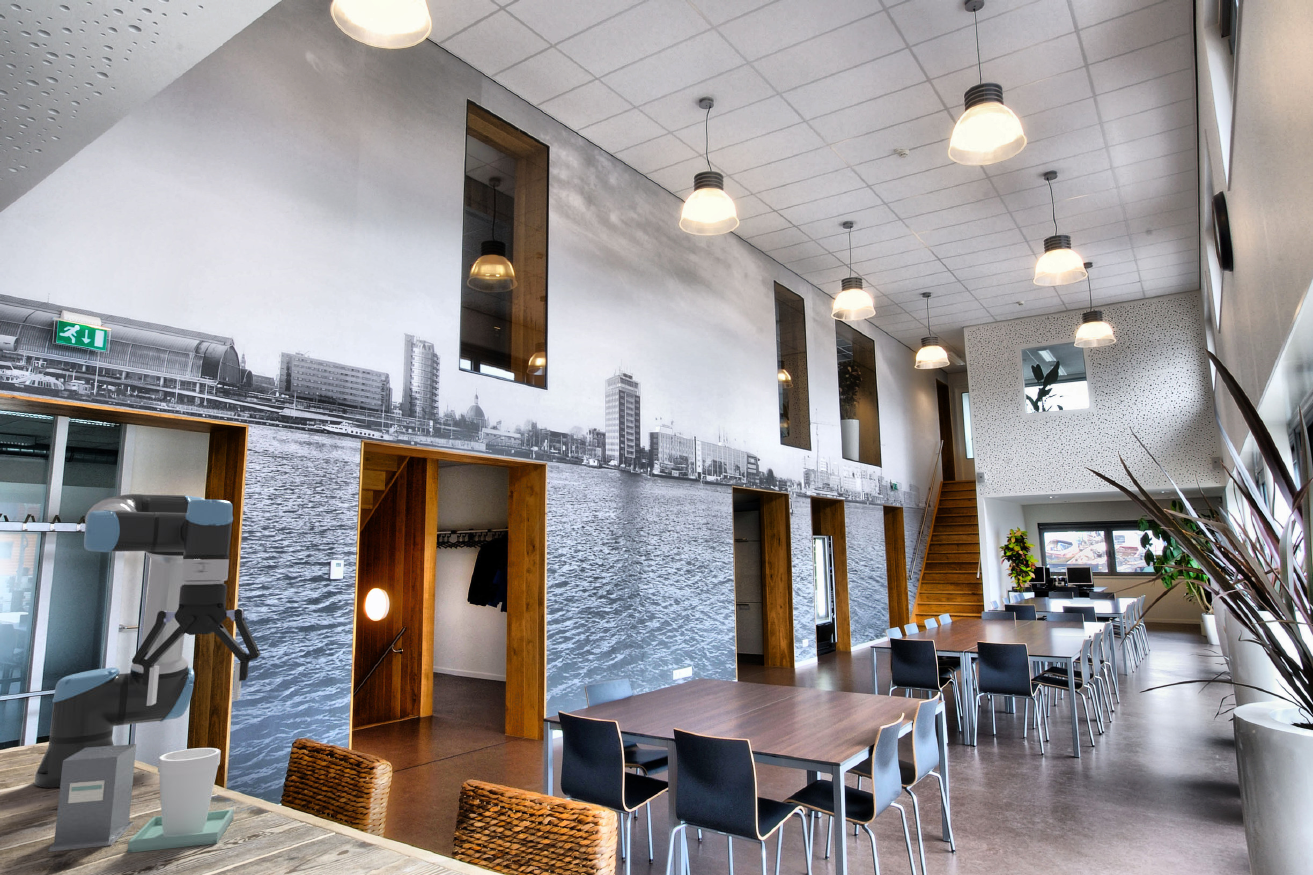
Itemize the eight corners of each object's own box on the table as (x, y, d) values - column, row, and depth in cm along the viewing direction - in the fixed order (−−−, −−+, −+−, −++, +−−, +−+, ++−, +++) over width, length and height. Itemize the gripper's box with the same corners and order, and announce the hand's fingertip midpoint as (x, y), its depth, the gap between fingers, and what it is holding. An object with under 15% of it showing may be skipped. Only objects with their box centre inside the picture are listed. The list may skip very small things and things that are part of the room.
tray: (152, 827, 140) (153, 816, 140) (233, 819, 144) (233, 808, 144) (127, 852, 128) (128, 841, 128) (216, 843, 132) (217, 831, 132)
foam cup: (139, 836, 133) (146, 758, 136) (188, 820, 142) (194, 746, 144) (179, 843, 130) (185, 762, 132) (226, 825, 139) (232, 749, 141)
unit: (75, 830, 139) (83, 747, 141) (132, 824, 142) (140, 743, 144) (48, 851, 129) (58, 761, 131) (111, 845, 131) (119, 756, 134)
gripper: (119, 584, 136) (106, 710, 132) (274, 582, 143) (266, 700, 140) (133, 583, 143) (121, 702, 139) (281, 581, 150) (273, 694, 147)
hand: (194, 701), depth 140 cm, fingers open, 13 cm apart
